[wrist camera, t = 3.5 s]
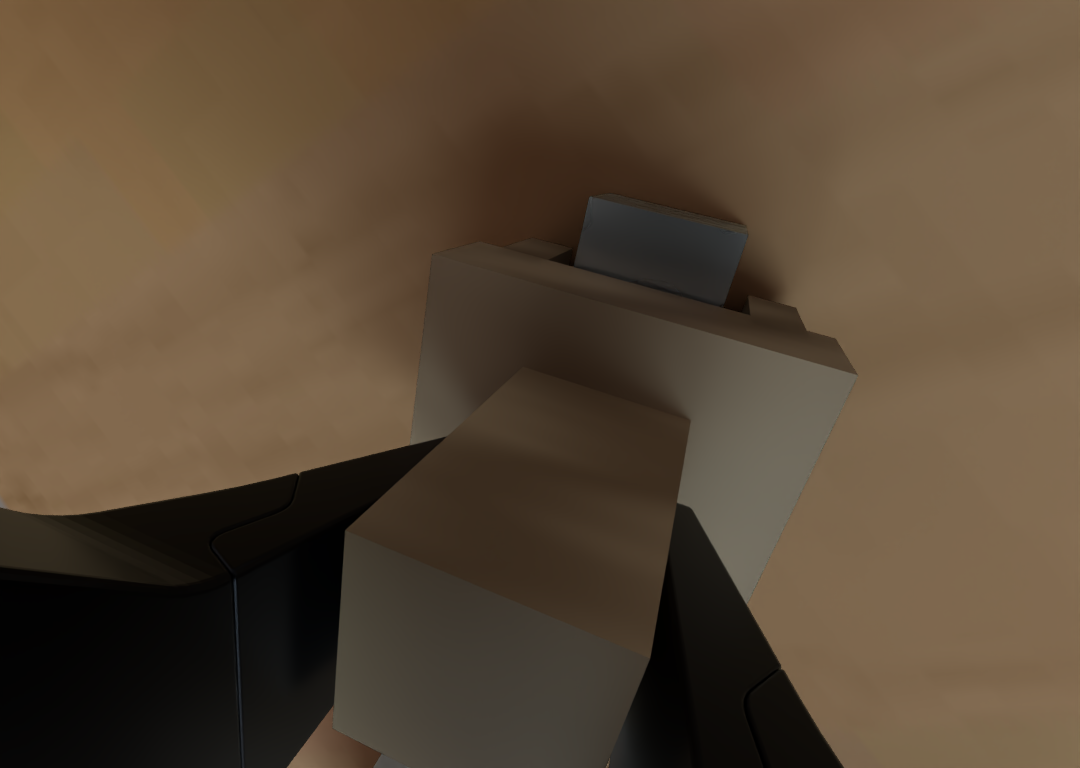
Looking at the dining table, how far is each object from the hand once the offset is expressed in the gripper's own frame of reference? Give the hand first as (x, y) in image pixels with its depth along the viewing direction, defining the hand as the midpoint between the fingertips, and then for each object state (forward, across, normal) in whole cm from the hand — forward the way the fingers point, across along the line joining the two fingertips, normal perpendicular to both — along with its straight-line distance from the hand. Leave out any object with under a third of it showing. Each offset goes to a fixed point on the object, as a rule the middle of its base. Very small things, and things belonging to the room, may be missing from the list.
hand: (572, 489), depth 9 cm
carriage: (+5, 0, 0) cm, 5 cm away
